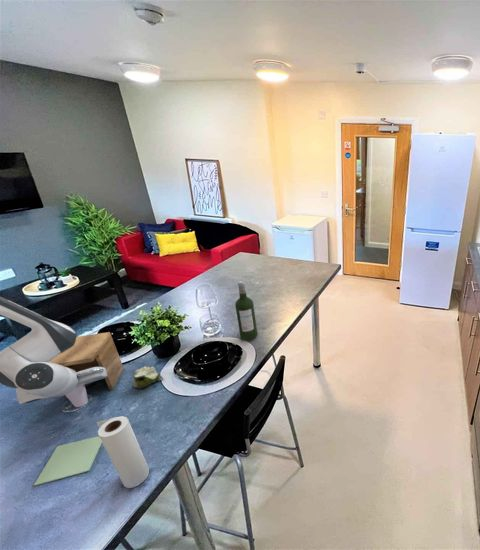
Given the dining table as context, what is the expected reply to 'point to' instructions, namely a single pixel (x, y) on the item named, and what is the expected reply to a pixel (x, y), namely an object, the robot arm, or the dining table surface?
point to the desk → (93, 356)
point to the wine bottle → (245, 314)
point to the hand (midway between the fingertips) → (73, 385)
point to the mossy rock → (145, 377)
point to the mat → (70, 460)
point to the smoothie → (78, 396)
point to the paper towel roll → (123, 450)
